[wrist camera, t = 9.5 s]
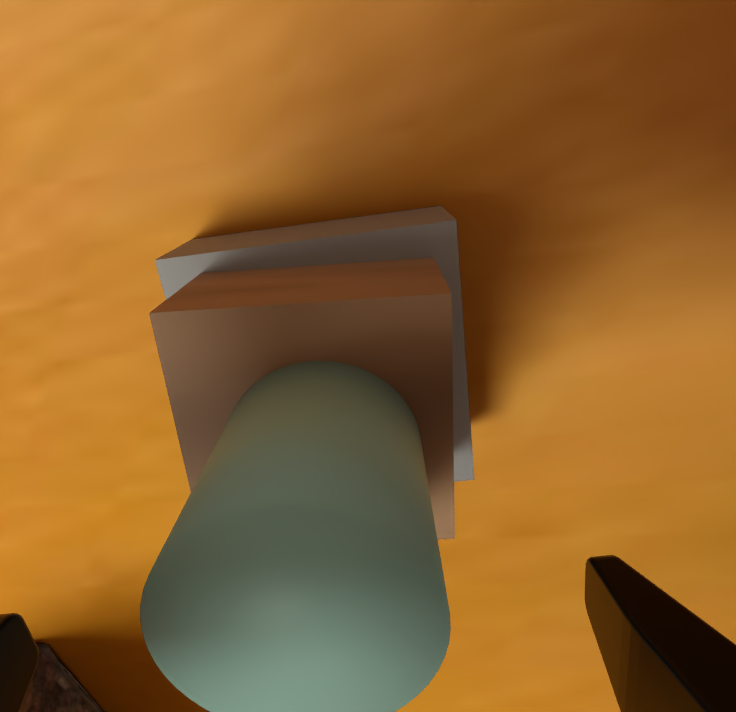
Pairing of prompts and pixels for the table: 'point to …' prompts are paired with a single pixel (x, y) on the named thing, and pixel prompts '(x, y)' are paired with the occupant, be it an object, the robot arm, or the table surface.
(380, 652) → the teal cylinder
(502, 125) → the table surface
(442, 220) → the slate base
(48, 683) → the stone block
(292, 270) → the walnut block
